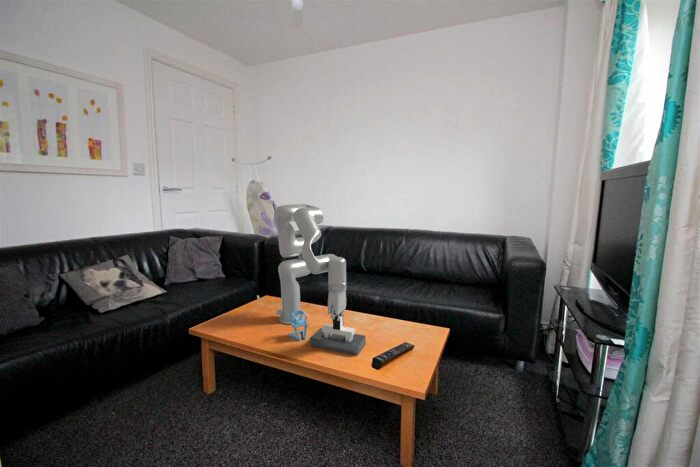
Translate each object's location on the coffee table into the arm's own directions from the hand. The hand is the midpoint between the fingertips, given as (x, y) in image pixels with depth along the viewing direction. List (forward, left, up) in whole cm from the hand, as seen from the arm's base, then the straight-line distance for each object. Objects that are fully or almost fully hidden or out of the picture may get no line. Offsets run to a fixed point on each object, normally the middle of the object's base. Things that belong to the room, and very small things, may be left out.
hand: (338, 327), depth 138 cm
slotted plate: (0, 0, -8) cm, 8 cm away
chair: (-20, +1, -8) cm, 22 cm away
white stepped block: (0, 0, -6) cm, 6 cm away
